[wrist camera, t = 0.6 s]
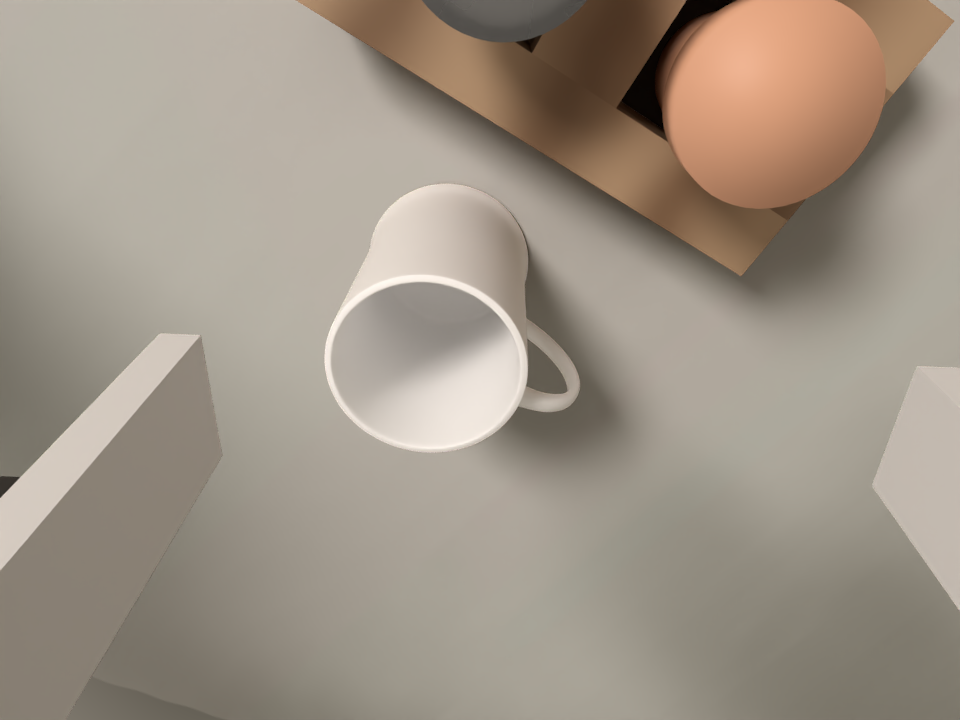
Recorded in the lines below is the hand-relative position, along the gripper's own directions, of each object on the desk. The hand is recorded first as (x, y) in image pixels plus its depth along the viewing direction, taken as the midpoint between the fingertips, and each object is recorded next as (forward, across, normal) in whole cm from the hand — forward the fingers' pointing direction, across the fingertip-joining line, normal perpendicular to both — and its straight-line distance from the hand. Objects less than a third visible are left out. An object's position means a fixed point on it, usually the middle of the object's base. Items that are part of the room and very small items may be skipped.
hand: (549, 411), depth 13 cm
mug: (+25, -2, -7) cm, 26 cm away
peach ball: (+20, +7, +4) cm, 22 cm away
